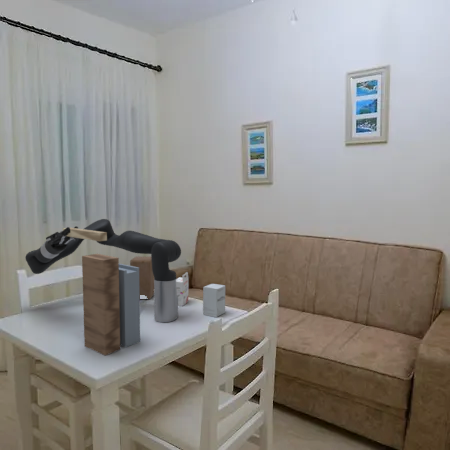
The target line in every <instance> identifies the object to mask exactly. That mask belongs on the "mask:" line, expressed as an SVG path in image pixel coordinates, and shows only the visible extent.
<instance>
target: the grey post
mask: <svg viewBox="0 0 450 450" xmlns="http://www.w3.org/2000/svg"><path fill="white" fill-rule="evenodd" d="M140 300H141V299H140V294H139V267H134V266H130V264H123V263H119V309H120V347H123V346H124V348H127V347H130V346H133V345H135V344H138V343H140V342H141V315H140V309H141V308H140V304H141V303H140ZM137 342H138V343H137ZM132 344H133V345H132Z"/></svg>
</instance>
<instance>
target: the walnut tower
mask: <svg viewBox="0 0 450 450" xmlns="http://www.w3.org/2000/svg"><path fill="white" fill-rule="evenodd" d="M119 259H120V258H119V257H116V256H111V255H106V254H101V253H93V254H92V253H91V254H86V255H82V256H81V264H82V265H81V267H82V269H81V272H82V273H81V274H82V299H83V300H82V304H83V306H82V307H83V336H84V337H83V338H84V339H83V340H84V341H83V343H84V347H86V348H88V349H90V350H93V351H94V352H97V353H99V354H101V355H103V356H108V355H110V354H112V353H116V352H118V351H120V350H121V345H120V309H119V264H120V261H119Z"/></svg>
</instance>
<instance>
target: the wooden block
mask: <svg viewBox="0 0 450 450" xmlns="http://www.w3.org/2000/svg"><path fill="white" fill-rule="evenodd" d="M129 263H130V264H129V266H134V267H139V294H140V295H145V296H147V298H148V301H149V300H151V299H152V297H154V275H153V272H152V259H151V256H134V257H133V258H131V259H130V261H129Z"/></svg>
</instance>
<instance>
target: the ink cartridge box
mask: <svg viewBox="0 0 450 450" xmlns="http://www.w3.org/2000/svg"><path fill="white" fill-rule="evenodd" d="M181 276H182V277H181ZM181 276H180V277H177V278H176V295H177V296H178V307H179V306H180V307H181V306H182V307H184V306H185V305H186V304H187V303H188V302H189V272H188V271H186V272H185V273H184V274H182V275H181Z"/></svg>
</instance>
